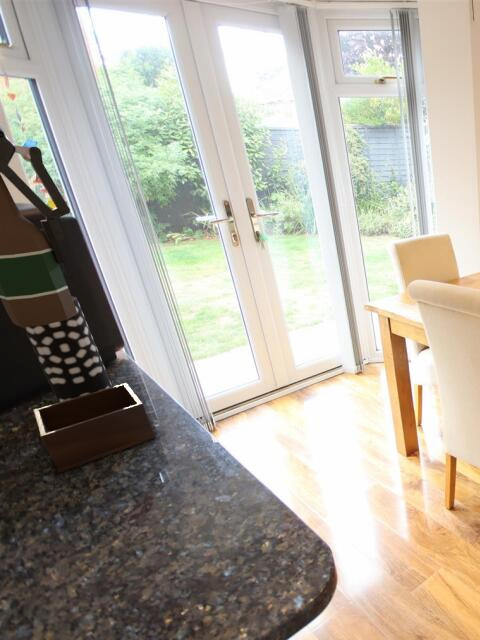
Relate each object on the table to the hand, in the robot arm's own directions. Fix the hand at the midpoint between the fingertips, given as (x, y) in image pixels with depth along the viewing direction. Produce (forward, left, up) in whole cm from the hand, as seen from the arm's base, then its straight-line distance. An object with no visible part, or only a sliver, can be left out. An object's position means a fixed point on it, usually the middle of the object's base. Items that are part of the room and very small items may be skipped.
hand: (24, 266), depth 71 cm
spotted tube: (-13, +9, -29) cm, 33 cm away
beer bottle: (0, 0, -9) cm, 9 cm away
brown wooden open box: (+6, -3, -29) cm, 30 cm away
